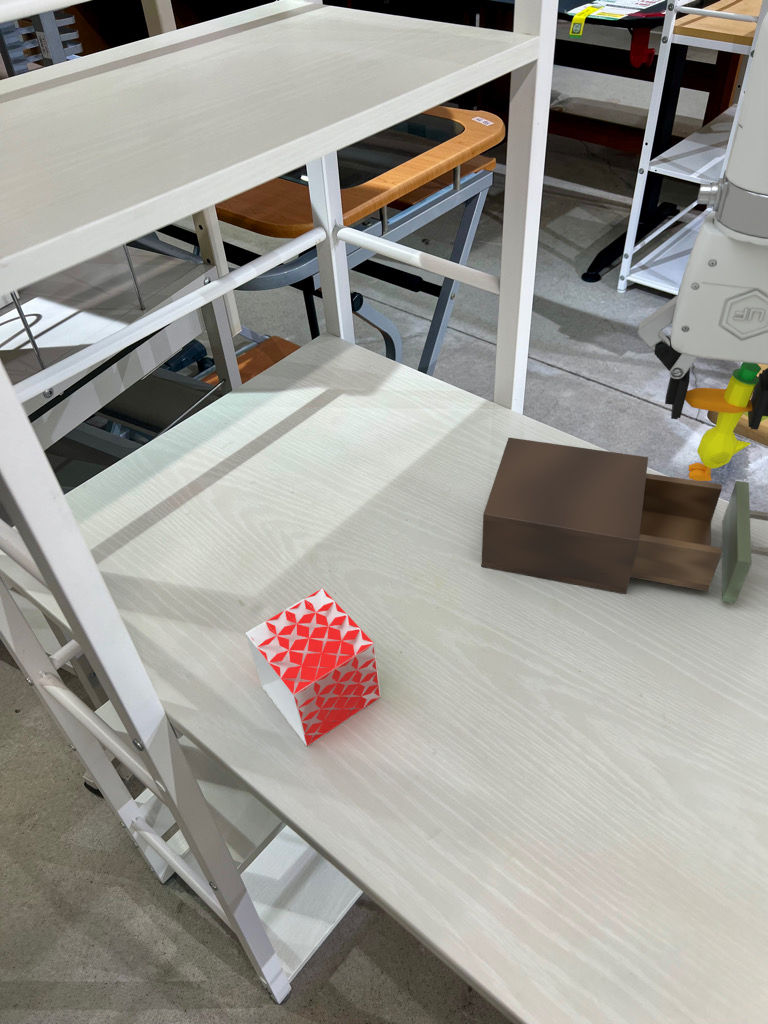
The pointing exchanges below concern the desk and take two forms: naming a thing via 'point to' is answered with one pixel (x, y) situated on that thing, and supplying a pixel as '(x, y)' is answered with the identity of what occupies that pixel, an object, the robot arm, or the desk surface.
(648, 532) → the drawer
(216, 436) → the desk surface
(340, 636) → the red patterned cube
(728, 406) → the toy figure
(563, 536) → the cabinet
